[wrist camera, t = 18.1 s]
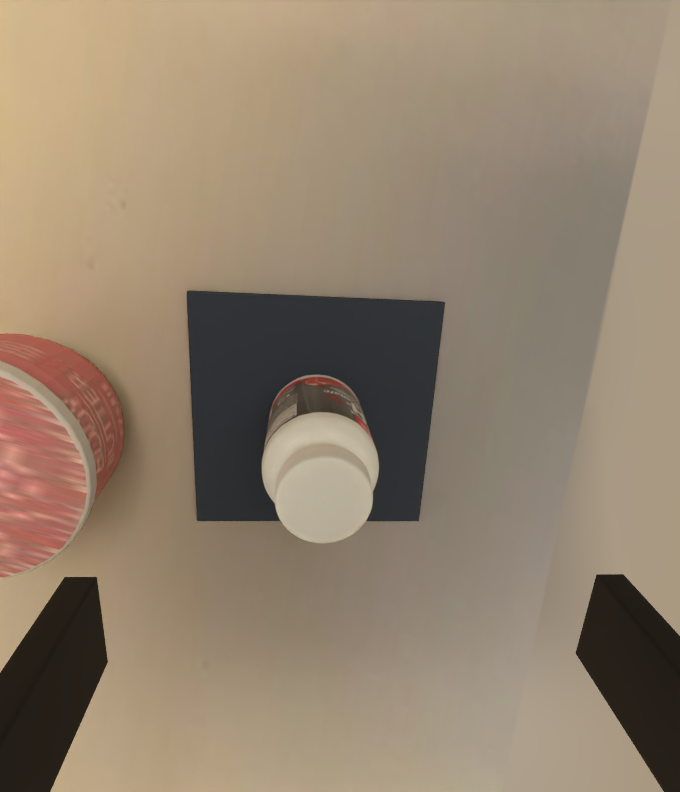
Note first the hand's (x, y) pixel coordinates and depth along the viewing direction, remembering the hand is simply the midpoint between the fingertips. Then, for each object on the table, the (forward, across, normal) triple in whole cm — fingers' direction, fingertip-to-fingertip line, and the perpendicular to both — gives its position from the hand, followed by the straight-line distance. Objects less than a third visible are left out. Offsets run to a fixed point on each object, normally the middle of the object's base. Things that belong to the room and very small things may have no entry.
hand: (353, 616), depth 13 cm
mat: (+17, -1, -1) cm, 17 cm away
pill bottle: (+17, -1, -1) cm, 17 cm away
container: (+17, -16, -1) cm, 23 cm away
